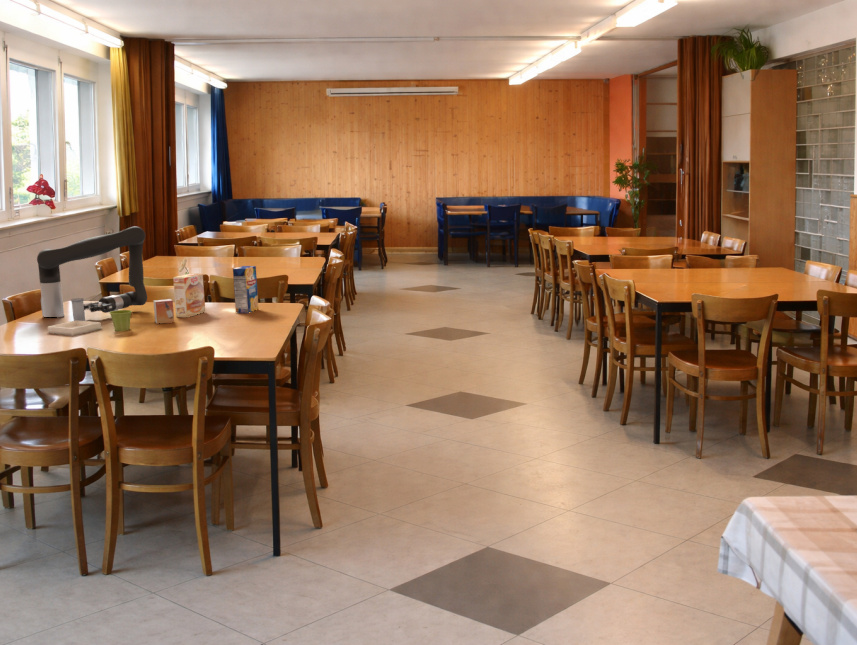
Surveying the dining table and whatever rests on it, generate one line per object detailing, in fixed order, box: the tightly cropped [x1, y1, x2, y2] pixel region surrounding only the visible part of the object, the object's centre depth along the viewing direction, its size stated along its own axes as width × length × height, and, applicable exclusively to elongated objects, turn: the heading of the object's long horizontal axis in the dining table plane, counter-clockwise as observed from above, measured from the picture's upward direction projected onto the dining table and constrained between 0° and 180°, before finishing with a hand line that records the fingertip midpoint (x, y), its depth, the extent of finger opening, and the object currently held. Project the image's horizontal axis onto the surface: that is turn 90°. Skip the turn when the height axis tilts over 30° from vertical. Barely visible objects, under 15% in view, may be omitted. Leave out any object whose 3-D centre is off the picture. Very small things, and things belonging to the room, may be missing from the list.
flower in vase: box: [177, 258, 190, 275], centre depth 421 cm, size 13×11×25 cm
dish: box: [47, 320, 102, 337], centre depth 359 cm, size 15×15×3 cm
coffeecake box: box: [172, 273, 206, 318], centre depth 395 cm, size 15×7×20 cm, turn 160°
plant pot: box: [108, 309, 133, 332], centre depth 360 cm, size 9×9×9 cm
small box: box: [153, 298, 175, 325], centre depth 378 cm, size 8×6×10 cm
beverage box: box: [232, 265, 259, 314], centre depth 401 cm, size 7×11×22 cm, turn 165°
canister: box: [70, 297, 86, 321], centre depth 377 cm, size 5×5×12 cm
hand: (84, 309), depth 379 cm, fingers open, 8 cm apart
